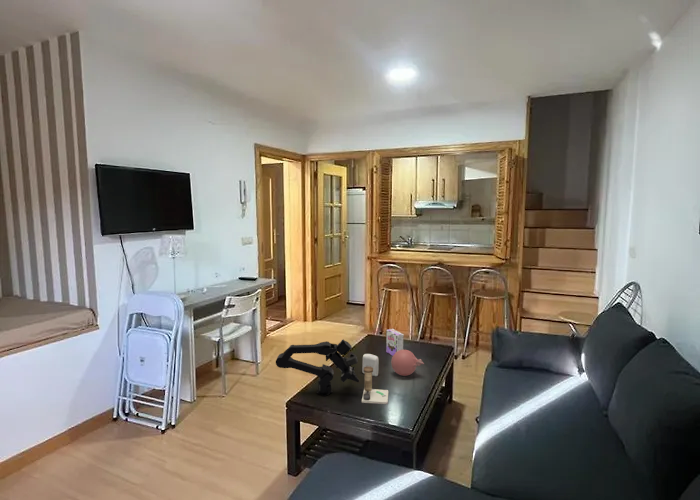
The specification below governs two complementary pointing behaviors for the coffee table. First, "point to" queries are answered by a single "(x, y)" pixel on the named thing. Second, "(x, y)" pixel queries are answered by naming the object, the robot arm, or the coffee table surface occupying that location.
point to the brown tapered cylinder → (368, 381)
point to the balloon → (405, 362)
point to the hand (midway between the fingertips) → (358, 381)
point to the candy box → (394, 341)
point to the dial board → (376, 396)
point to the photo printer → (371, 363)
